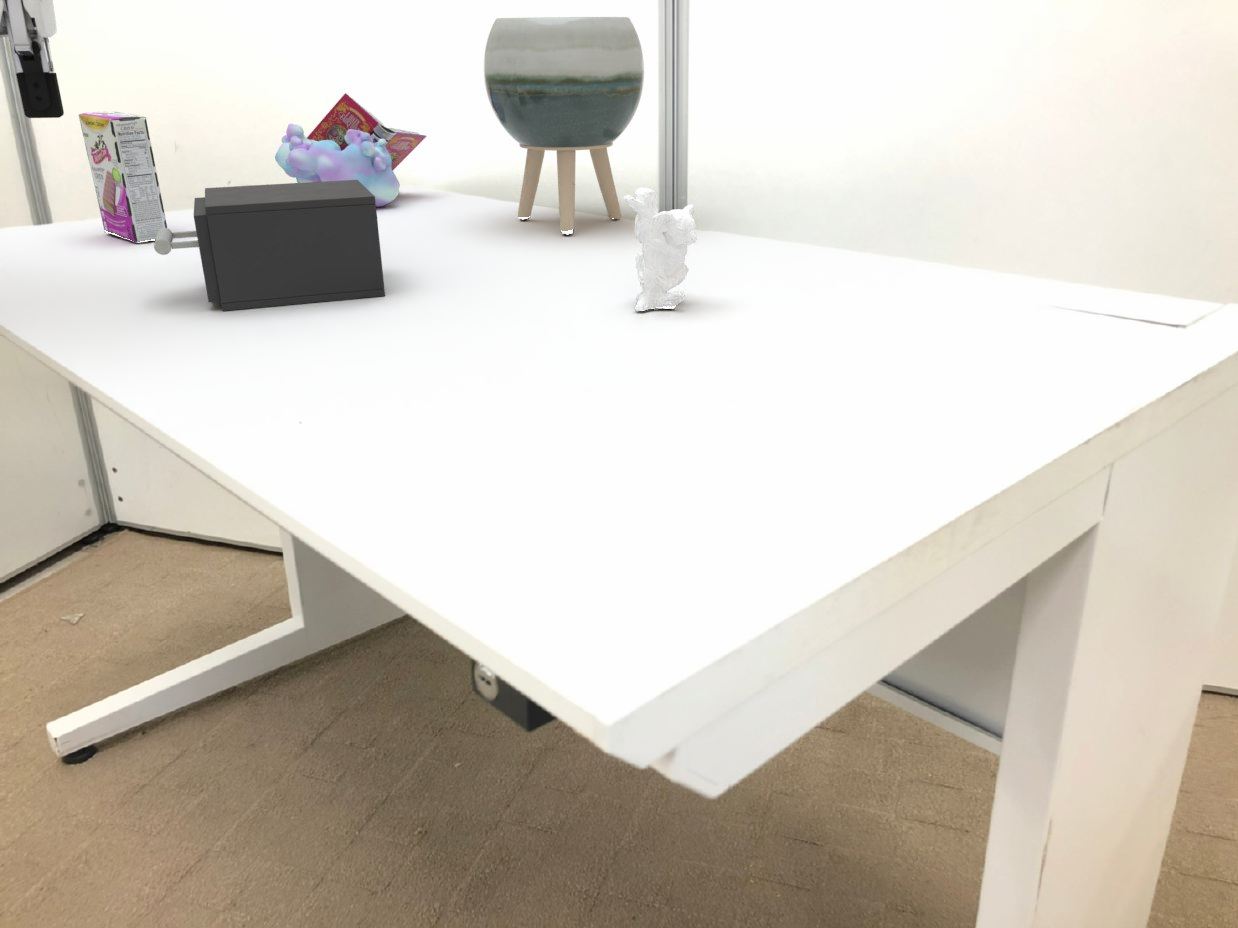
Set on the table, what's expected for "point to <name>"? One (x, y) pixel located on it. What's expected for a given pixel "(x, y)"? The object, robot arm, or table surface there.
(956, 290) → the table surface
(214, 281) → the drawer
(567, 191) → the planter
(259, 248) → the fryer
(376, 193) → the pastel bubbly blob
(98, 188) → the candy bar box
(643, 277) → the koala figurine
